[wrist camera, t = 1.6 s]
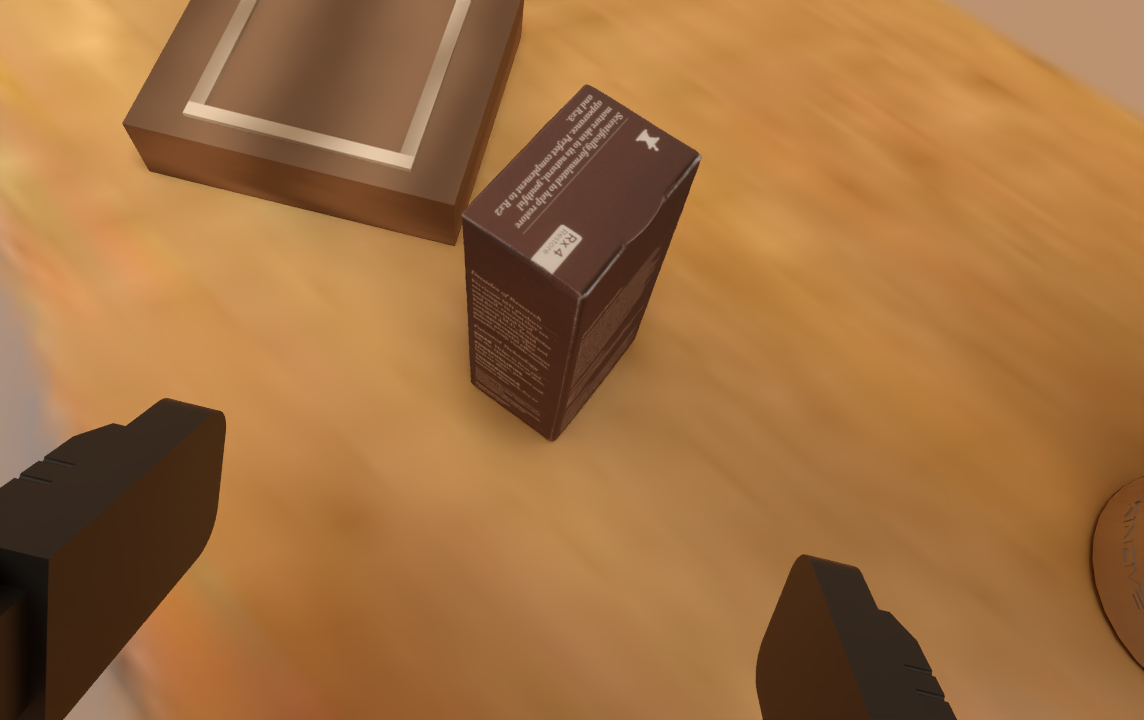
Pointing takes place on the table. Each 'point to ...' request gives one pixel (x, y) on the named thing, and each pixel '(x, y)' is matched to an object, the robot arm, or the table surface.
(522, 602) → the table surface
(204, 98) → the base board
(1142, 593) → the robot arm
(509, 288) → the box
